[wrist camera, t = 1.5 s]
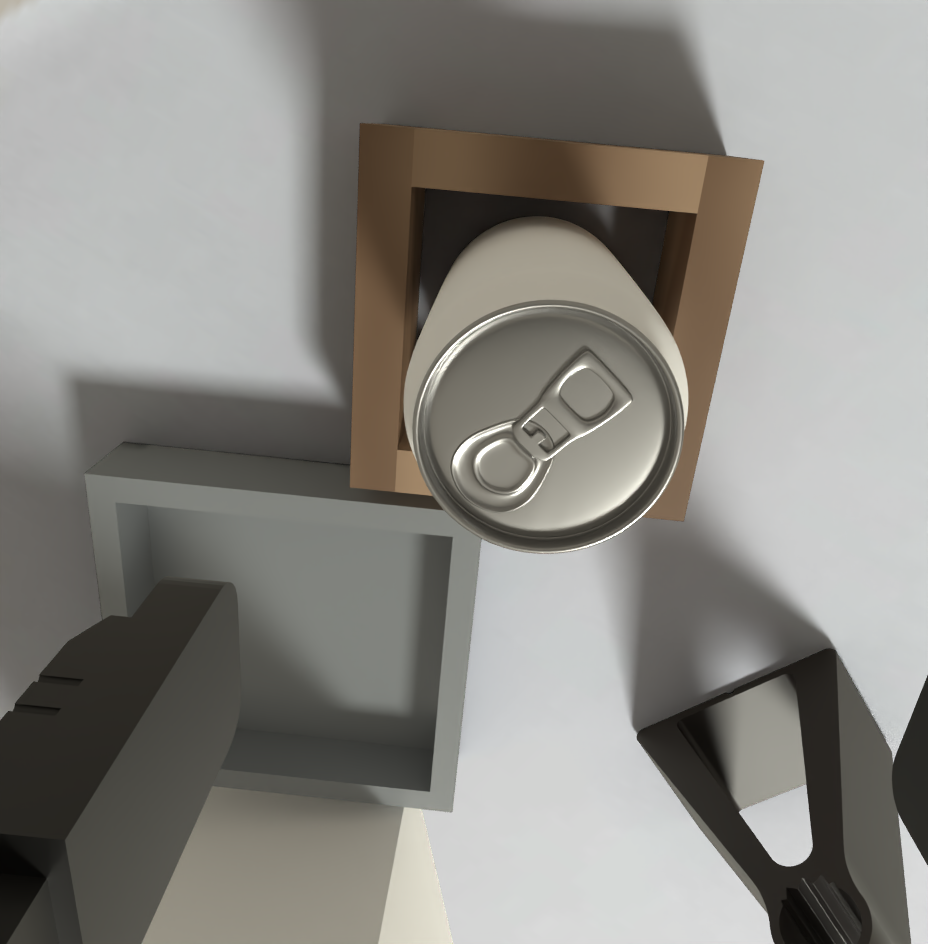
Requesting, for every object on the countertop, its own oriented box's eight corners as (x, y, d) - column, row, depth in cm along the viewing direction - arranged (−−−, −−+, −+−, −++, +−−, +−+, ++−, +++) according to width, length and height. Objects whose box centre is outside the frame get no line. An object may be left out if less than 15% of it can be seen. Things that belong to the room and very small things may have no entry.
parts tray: (486, 478, 30) (483, 514, 27) (457, 759, 35) (452, 812, 33) (123, 442, 30) (84, 474, 27) (151, 726, 36) (121, 776, 33)
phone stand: (833, 645, 32) (1000, 916, 21) (887, 745, 34) (1066, 1041, 23) (634, 731, 34) (691, 1014, 23) (696, 819, 36) (775, 1120, 25)
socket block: (727, 155, 25) (764, 160, 21) (662, 472, 29) (683, 521, 26) (382, 123, 25) (359, 123, 21) (370, 442, 30) (349, 487, 26)
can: (402, 308, 27) (327, 430, 16) (539, 169, 25) (559, 203, 14) (528, 434, 29) (536, 622, 18) (666, 314, 27) (772, 443, 16)
